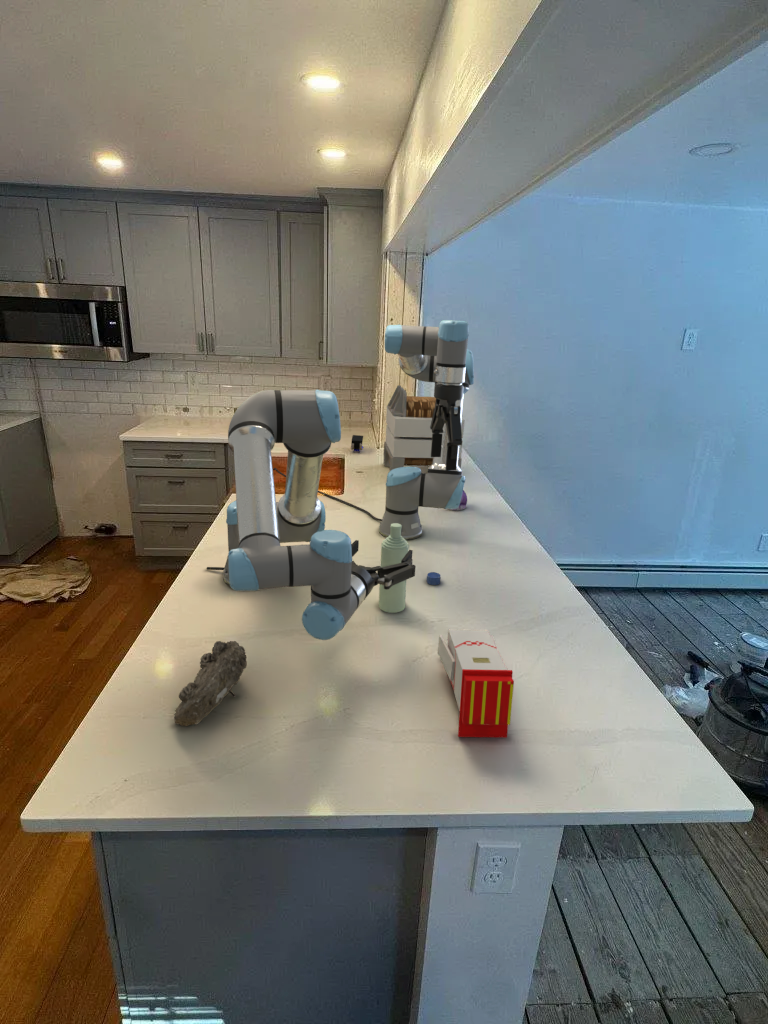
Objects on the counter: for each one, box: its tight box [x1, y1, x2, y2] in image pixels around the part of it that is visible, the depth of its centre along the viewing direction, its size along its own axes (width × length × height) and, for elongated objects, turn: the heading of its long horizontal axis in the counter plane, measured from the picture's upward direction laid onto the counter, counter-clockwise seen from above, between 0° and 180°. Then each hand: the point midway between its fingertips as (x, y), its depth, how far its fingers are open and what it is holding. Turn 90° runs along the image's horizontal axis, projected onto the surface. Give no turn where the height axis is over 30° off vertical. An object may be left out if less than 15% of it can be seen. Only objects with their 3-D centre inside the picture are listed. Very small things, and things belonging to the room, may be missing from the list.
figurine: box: [449, 473, 468, 511], centre depth 227 cm, size 9×10×15 cm
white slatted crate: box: [383, 384, 465, 472], centre depth 268 cm, size 34×33×41 cm
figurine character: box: [350, 434, 364, 454], centre depth 311 cm, size 7×8×15 cm
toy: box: [437, 628, 515, 738], centre depth 117 cm, size 12×13×30 cm
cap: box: [426, 571, 442, 586], centre depth 165 cm, size 4×4×2 cm
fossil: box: [173, 640, 248, 727], centre depth 113 cm, size 22×10×15 cm
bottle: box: [378, 523, 410, 614], centre depth 147 cm, size 7×7×23 cm
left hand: (383, 550), depth 136 cm, fingers open, 13 cm apart
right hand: (442, 463), depth 153 cm, fingers open, 13 cm apart
